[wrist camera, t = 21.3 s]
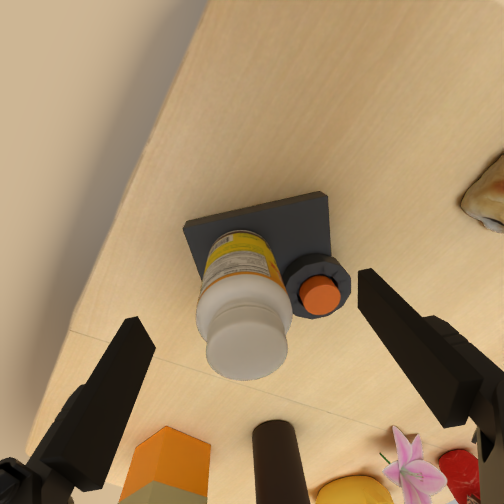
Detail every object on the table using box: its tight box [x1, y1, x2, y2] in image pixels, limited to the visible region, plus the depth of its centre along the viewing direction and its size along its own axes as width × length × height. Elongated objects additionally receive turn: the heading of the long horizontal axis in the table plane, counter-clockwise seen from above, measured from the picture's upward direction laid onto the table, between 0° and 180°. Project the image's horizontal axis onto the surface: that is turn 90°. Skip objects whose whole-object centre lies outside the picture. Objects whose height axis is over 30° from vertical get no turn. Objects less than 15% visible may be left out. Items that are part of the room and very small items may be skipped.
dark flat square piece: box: [183, 191, 351, 319], centre depth 21 cm, size 13×11×4 cm
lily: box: [380, 426, 447, 504], centre depth 37 cm, size 12×12×10 cm
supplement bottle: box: [196, 230, 292, 381], centre depth 15 cm, size 6×6×10 cm
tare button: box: [299, 275, 341, 315], centre depth 20 cm, size 3×3×2 cm
